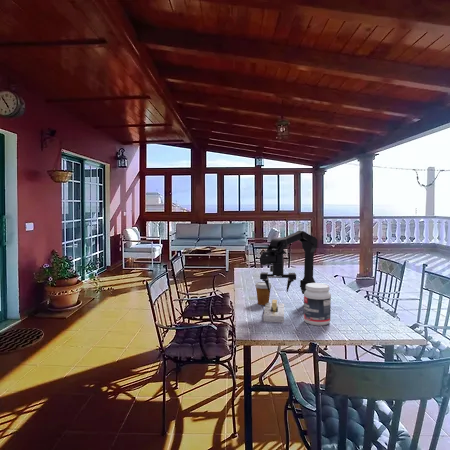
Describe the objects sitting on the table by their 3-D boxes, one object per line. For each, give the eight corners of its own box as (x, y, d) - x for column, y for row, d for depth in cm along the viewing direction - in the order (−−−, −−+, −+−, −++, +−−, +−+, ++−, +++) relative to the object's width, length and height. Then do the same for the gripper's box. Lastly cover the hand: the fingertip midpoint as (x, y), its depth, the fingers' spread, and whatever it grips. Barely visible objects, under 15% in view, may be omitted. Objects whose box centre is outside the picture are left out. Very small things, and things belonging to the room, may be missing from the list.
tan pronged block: (276, 312, 190) (276, 299, 190) (276, 316, 184) (276, 303, 183) (272, 312, 191) (272, 299, 190) (271, 316, 184) (272, 303, 184)
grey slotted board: (284, 308, 198) (284, 303, 198) (284, 322, 175) (284, 316, 174) (265, 308, 200) (265, 302, 200) (263, 321, 176) (263, 315, 176)
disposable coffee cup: (258, 306, 203) (258, 285, 203) (252, 302, 212) (252, 282, 212) (274, 305, 206) (274, 284, 205) (267, 301, 215) (267, 281, 214)
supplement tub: (298, 322, 175) (298, 285, 174) (312, 316, 184) (312, 281, 183) (321, 328, 166) (322, 289, 165) (335, 322, 175) (336, 285, 174)
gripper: (295, 260, 194) (295, 288, 195) (261, 260, 197) (261, 288, 198) (296, 264, 183) (296, 294, 184) (259, 263, 186) (260, 293, 187)
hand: (278, 292), depth 189 cm, fingers open, 9 cm apart
